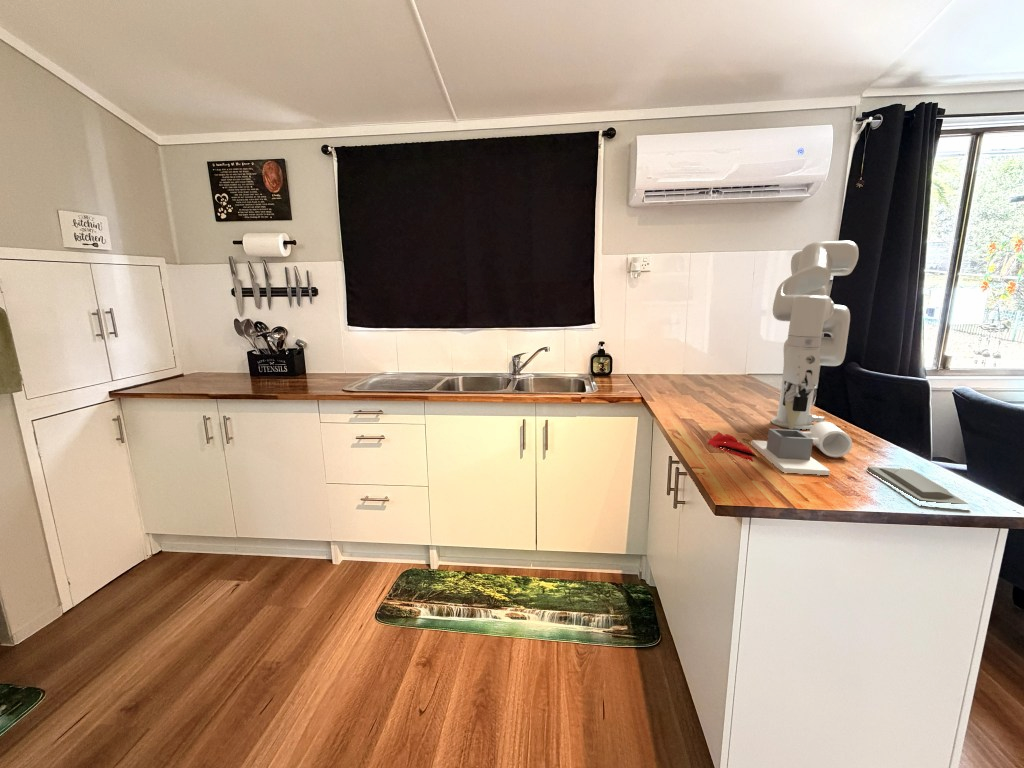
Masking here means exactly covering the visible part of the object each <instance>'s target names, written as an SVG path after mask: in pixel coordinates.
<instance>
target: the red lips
mask: <svg viewBox="0 0 1024 768" xmlns="http://www.w3.org/2000/svg"><path fill="white" fill-rule="evenodd" d="M712 437H713V438H712ZM712 437H711V438H710V439H709V441H707V443H708V444H707V445H709V446H711V447H713V448H715V447H716V448H715V449H718V448H719V449H718V450H721V449H723V447H726V449H723V450H724V451H723V450H722V451H723V452H726V451H727V452H726V453H728V452H729V454H732V455H734V456H737V457H741V458H742V459H745V460H748V459H749V461H750V460H751V461H750V462H753V461H754V460H753V457H752V456H753V455H754V456H755V458H757V455H756V453H755V452H753V450H752V449H751V448H750V447H749V446H746V445H745V444H744V443H742V442H740V441H739V440H738V439H737V438H736V436H733V435H732V434H727V433H726V434H723V433H721V432H718V433H717V434H714V435H713V436H712ZM724 442H726V443H724ZM720 447H722V448H720ZM730 448H731V450H732V451H731V450H728V449H730ZM734 451H736V452H734ZM738 452H739V453H738ZM742 453H743V454H742ZM745 453H747V455H746V454H745ZM749 455H750V456H749Z"/></svg>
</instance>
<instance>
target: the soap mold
mask: <svg viewBox="0 0 1024 768" xmlns="http://www.w3.org/2000/svg"><path fill="white" fill-rule="evenodd" d="M867 470H868V471H869V472H871V473H872V474H874V475H876V476H878V477H879V478H881V479H882V480H884V481H886V482H888V483H890V484H891V485H893V486H894V487H896V488H898V489H899V490H901V491H903V492H904V493H906V494H908V495H910V496H912V497H913V498H915V499H917V500H919V501H926V502H936V503H951V504H969V503H967V502H966V501H964V500H963V499H961V498H959V497H957V496H956V495H955V494H953V493H951V492H950V491H949V490H948V489H947V488H945V487H943V486H942V485H939V484H938V483H936V482H934V481H933V480H931V479H929V478H928V477H926V476H924V475H922V474H920V473H918V472H917V471H915V470H914V469H908V468H902V467H900V468H893V467H891V468H890V467H877V466H868V467H867V469H866V471H867Z"/></svg>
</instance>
